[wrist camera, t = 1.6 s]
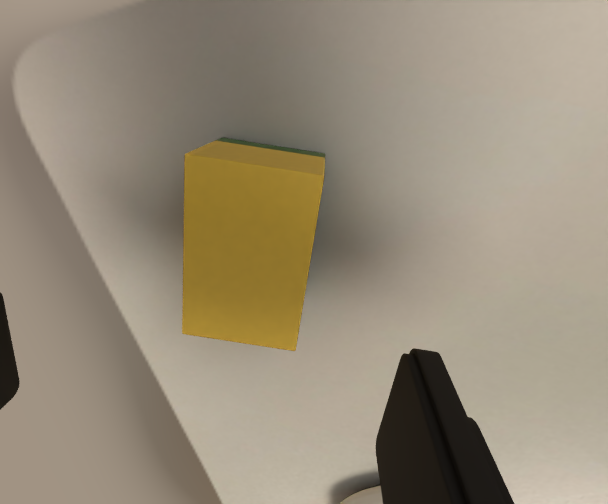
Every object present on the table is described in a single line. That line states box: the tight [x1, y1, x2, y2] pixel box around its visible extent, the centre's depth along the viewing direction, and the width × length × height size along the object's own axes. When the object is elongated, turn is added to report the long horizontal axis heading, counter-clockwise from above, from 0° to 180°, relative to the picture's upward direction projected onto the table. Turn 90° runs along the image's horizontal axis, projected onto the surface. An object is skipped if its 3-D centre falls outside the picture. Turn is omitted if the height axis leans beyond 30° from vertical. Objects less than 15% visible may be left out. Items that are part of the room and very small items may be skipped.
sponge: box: [182, 138, 325, 351], centre depth 15 cm, size 7×4×4 cm, turn 172°
